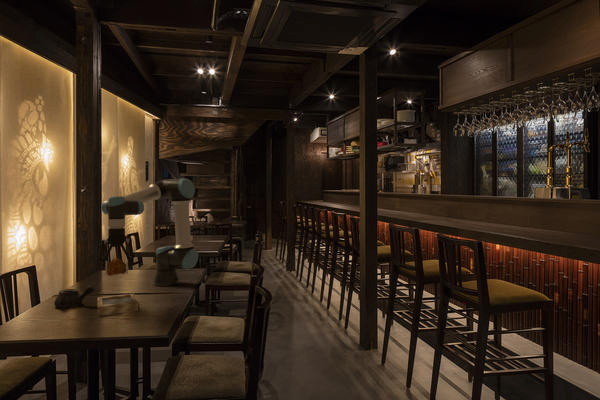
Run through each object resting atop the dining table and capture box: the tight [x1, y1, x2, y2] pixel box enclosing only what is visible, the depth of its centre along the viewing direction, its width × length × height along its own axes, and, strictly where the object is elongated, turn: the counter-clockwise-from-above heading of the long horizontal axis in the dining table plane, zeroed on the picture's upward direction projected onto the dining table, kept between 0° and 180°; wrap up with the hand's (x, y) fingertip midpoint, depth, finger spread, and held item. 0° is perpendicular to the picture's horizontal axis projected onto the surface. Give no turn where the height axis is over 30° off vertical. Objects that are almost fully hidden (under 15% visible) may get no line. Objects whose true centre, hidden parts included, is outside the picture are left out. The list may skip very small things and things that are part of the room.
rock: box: [107, 258, 126, 277], centre depth 202 cm, size 11×8×10 cm
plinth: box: [97, 293, 139, 317], centre depth 199 cm, size 17×19×4 cm
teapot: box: [53, 285, 95, 309], centre depth 204 cm, size 19×15×10 cm
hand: (116, 273), depth 201 cm, fingers closed on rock, 8 cm apart
